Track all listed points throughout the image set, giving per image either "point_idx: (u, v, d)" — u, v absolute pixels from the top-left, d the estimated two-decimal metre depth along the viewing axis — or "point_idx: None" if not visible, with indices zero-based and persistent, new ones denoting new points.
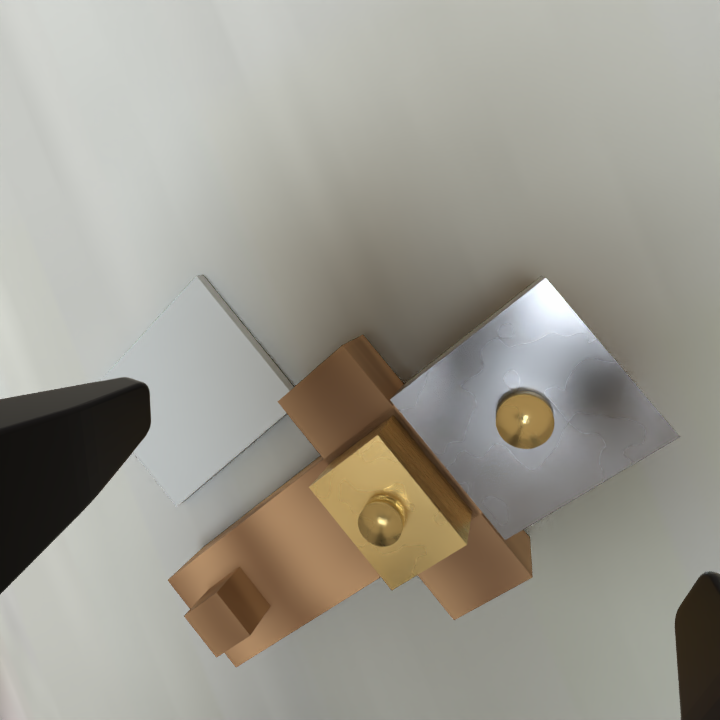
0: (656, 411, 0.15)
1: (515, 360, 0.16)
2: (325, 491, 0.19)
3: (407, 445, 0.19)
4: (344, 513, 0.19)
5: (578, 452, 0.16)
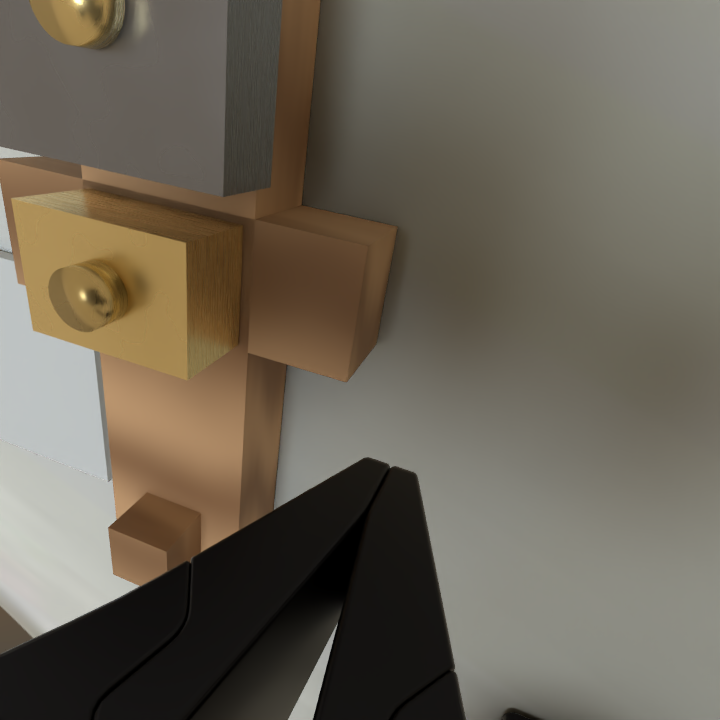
0: None
1: None
2: (44, 320, 0.14)
3: (100, 200, 0.13)
4: None
5: None
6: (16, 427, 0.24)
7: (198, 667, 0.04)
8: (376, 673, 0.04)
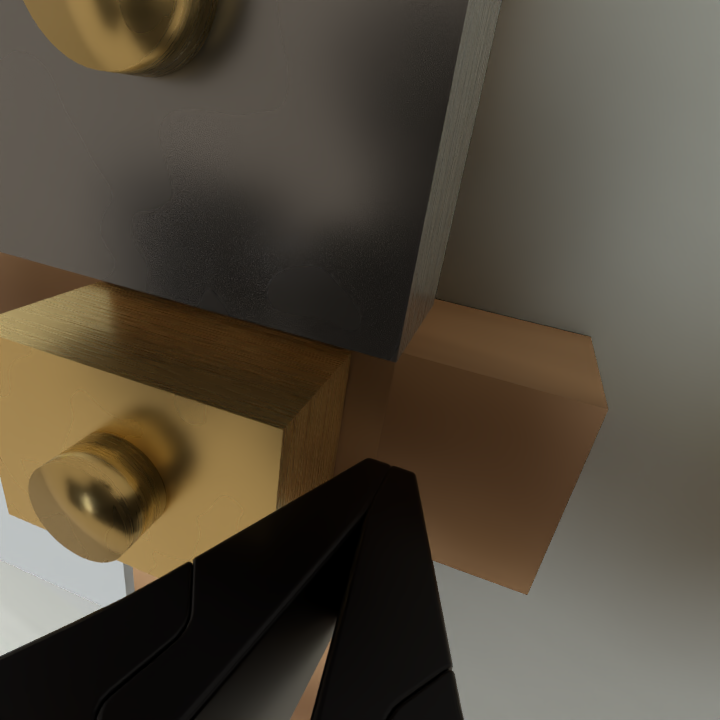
0: None
1: None
2: (26, 503, 0.08)
3: (117, 311, 0.08)
4: None
5: None
6: (10, 544, 0.19)
7: (201, 668, 0.04)
8: (374, 672, 0.04)
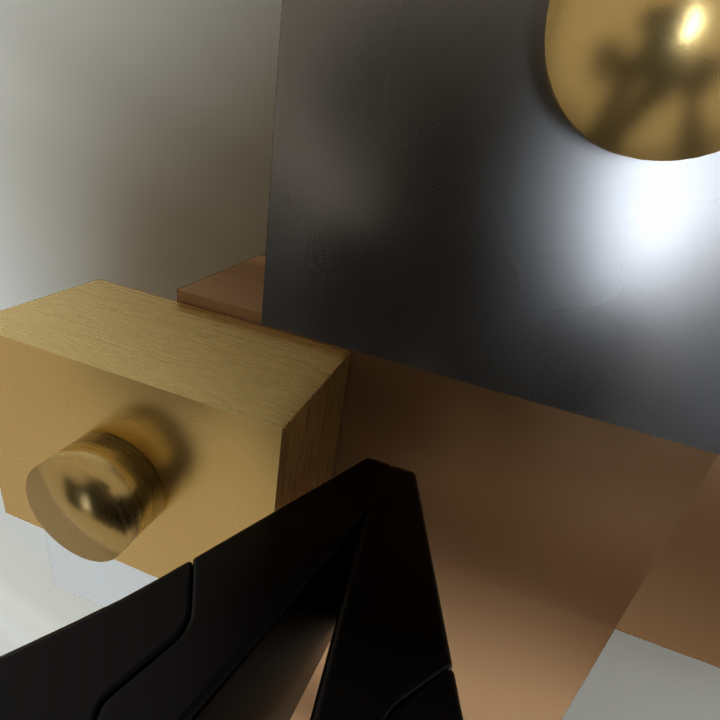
0: None
1: None
2: (24, 502, 0.08)
3: (115, 309, 0.08)
4: None
5: None
6: (110, 589, 0.18)
7: (201, 668, 0.04)
8: (374, 672, 0.04)
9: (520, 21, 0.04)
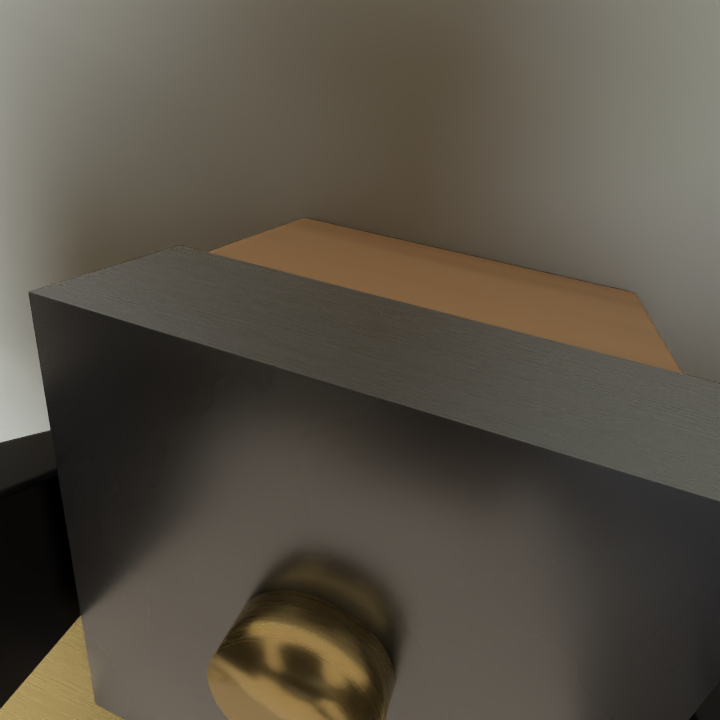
0: (656, 485, 0.03)
1: (174, 535, 0.05)
2: None
3: None
4: None
5: (512, 697, 0.05)
6: None
7: None
8: None
9: (222, 619, 0.06)
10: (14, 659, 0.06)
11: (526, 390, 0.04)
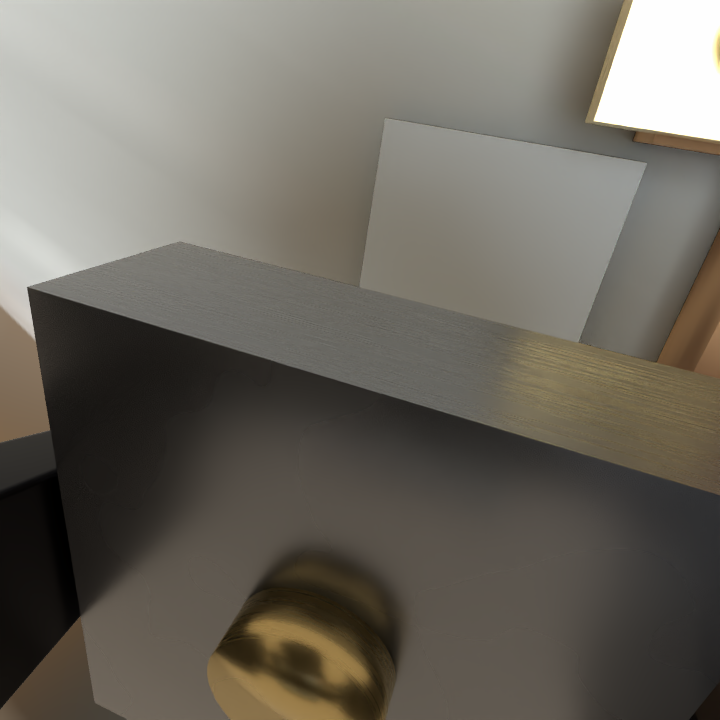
0: (659, 480, 0.03)
1: (175, 531, 0.05)
2: (628, 99, 0.10)
3: None
4: (688, 106, 0.10)
5: (514, 694, 0.05)
6: None
7: None
8: None
9: (222, 617, 0.06)
10: (14, 659, 0.06)
11: (528, 385, 0.04)
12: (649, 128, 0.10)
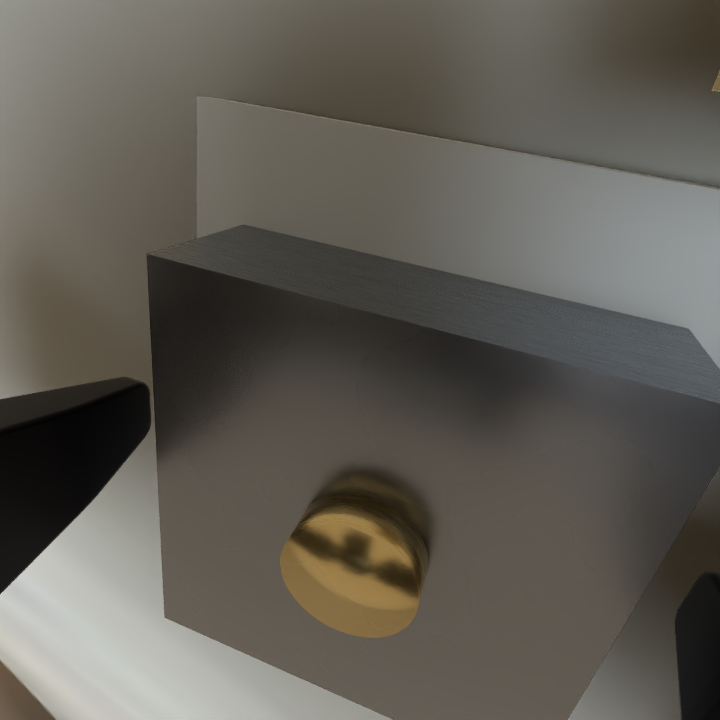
0: (627, 382, 0.05)
1: (251, 452, 0.07)
2: None
3: None
4: None
5: (521, 568, 0.06)
6: None
7: None
8: None
9: (285, 524, 0.07)
10: None
11: (532, 326, 0.06)
12: None
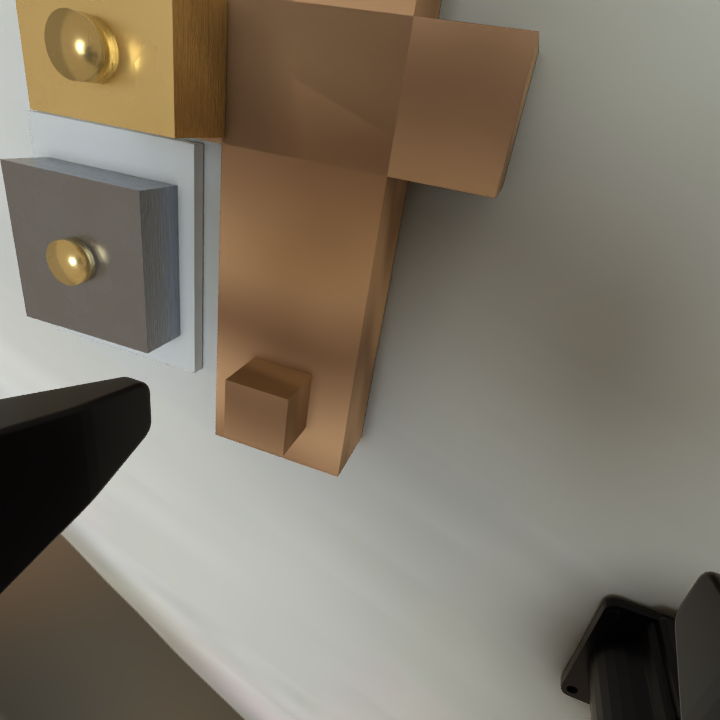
0: (116, 186, 0.18)
1: (39, 227, 0.20)
2: (41, 94, 0.14)
3: None
4: (72, 98, 0.14)
5: (115, 255, 0.19)
6: None
7: None
8: None
9: None
10: None
11: (111, 179, 0.19)
12: (60, 114, 0.15)
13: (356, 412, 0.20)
